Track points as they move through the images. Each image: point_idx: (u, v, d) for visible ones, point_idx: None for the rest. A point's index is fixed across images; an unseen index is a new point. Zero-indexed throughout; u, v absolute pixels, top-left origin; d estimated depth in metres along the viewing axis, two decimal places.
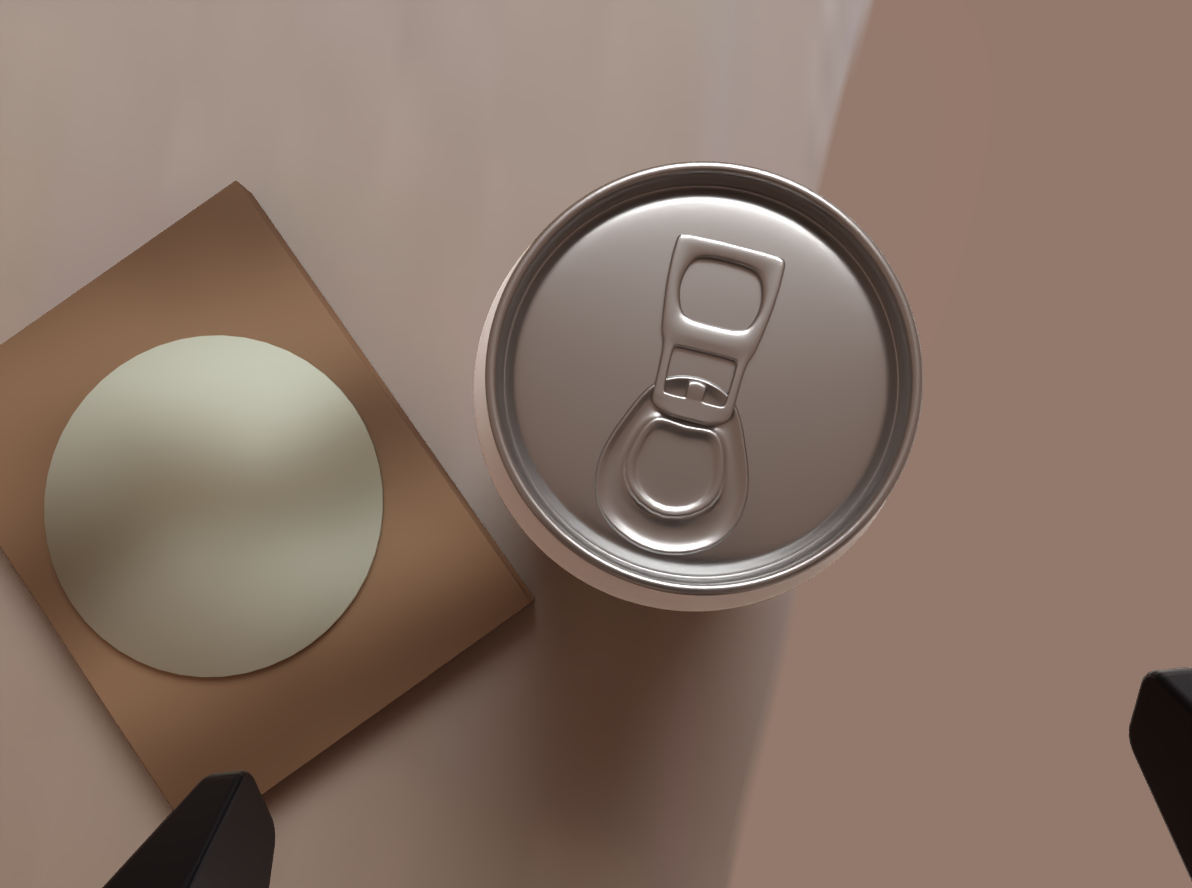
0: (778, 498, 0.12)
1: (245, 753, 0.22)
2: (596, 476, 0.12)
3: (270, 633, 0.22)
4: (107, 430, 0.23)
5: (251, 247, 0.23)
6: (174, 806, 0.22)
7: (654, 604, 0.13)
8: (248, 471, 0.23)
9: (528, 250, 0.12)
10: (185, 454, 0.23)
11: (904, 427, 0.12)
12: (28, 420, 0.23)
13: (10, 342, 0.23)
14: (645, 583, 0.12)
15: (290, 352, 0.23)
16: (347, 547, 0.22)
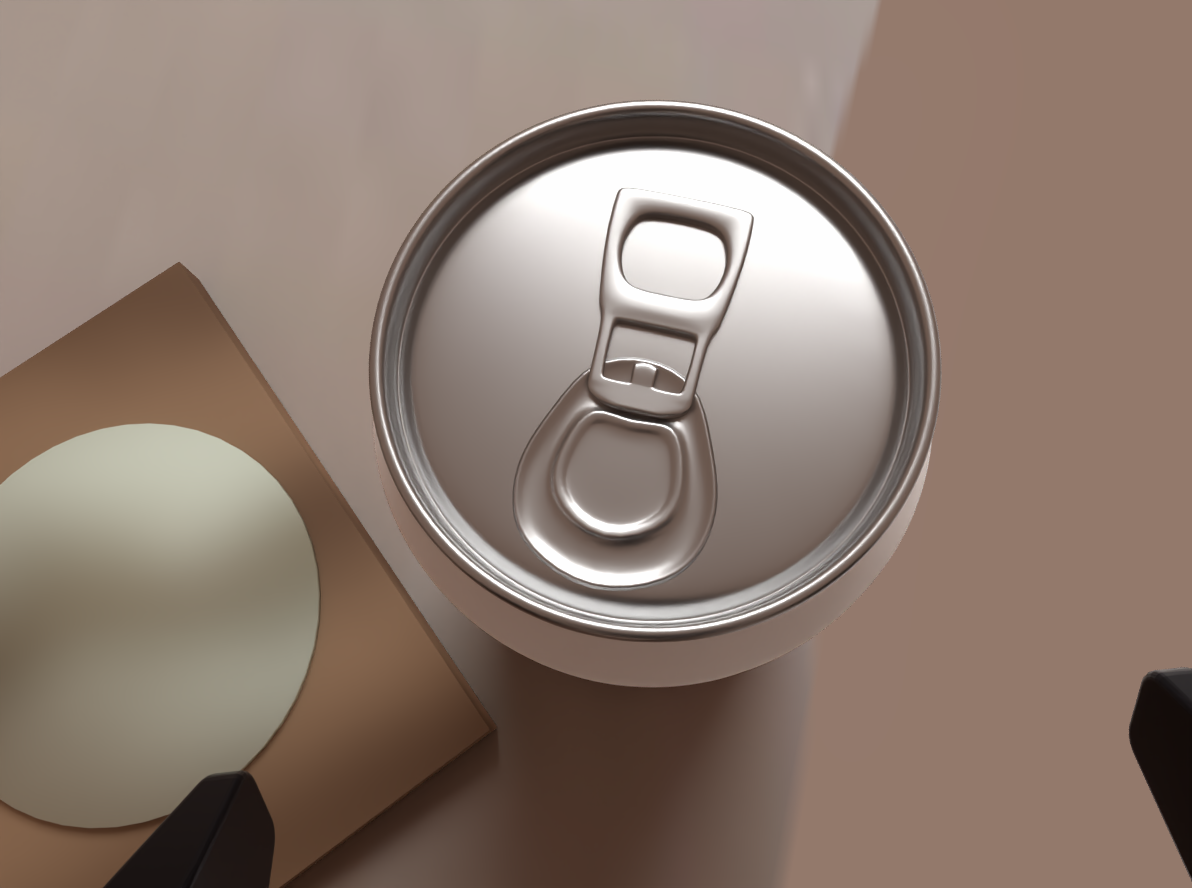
0: (758, 512, 0.09)
1: None
2: (514, 486, 0.09)
3: (176, 771, 0.19)
4: (10, 531, 0.20)
5: (190, 330, 0.21)
6: None
7: (601, 673, 0.10)
8: (165, 576, 0.20)
9: (429, 206, 0.09)
10: (95, 557, 0.20)
11: (920, 412, 0.09)
12: None
13: None
14: (576, 625, 0.08)
15: (224, 441, 0.20)
16: (274, 663, 0.19)
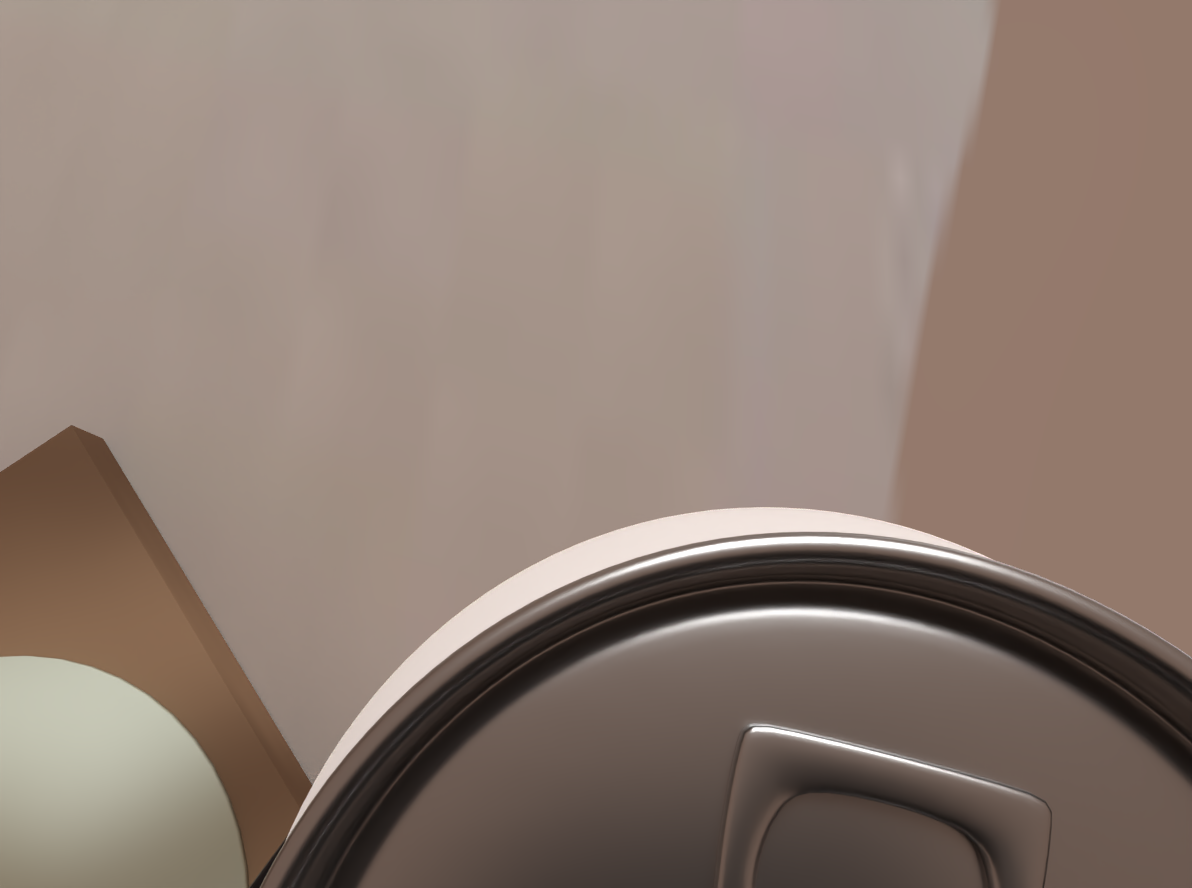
0: None
1: None
2: None
3: None
4: None
5: (83, 521, 0.16)
6: None
7: None
8: (39, 878, 0.14)
9: (323, 791, 0.04)
10: None
11: None
12: None
13: None
14: None
15: (123, 681, 0.15)
16: None
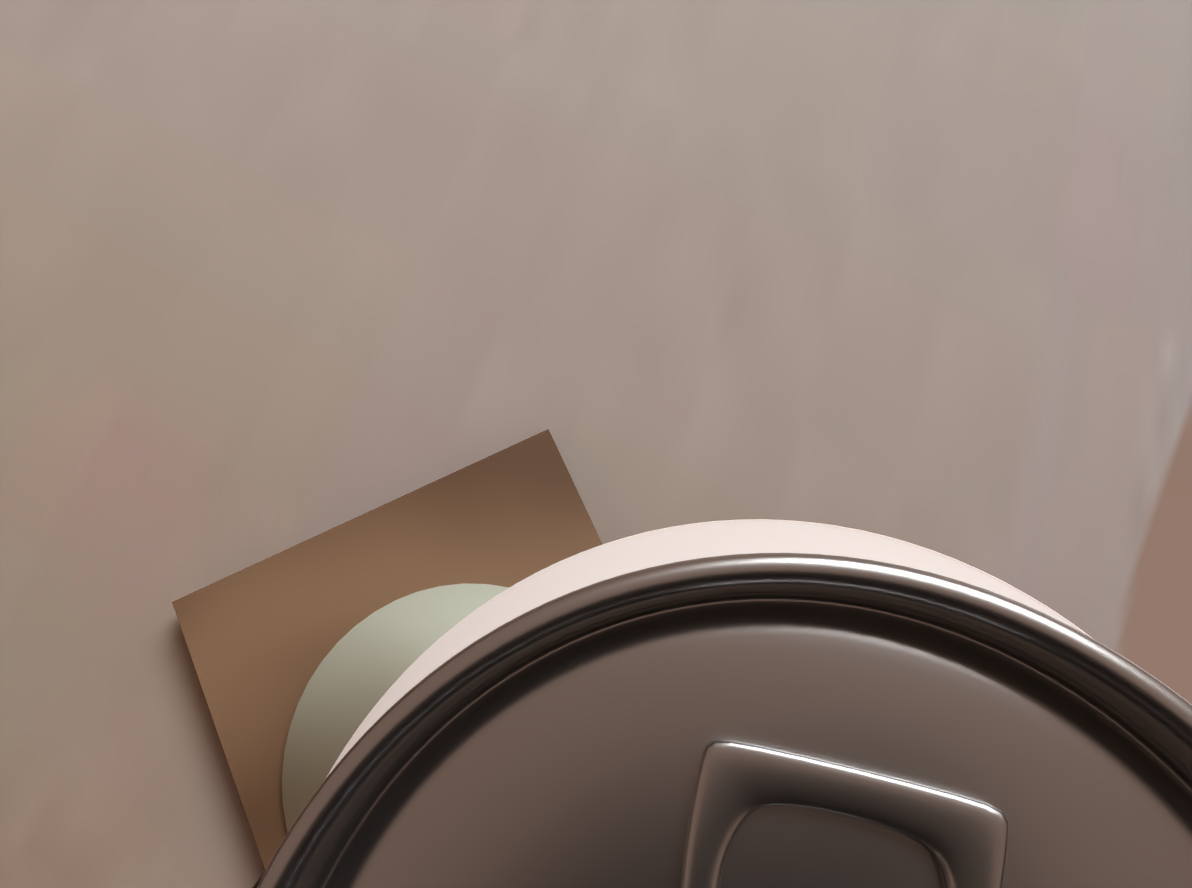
0: None
1: None
2: None
3: None
4: (369, 666, 0.21)
5: (551, 499, 0.22)
6: None
7: None
8: None
9: (307, 810, 0.04)
10: None
11: None
12: (289, 638, 0.22)
13: (287, 552, 0.22)
14: None
15: None
16: None
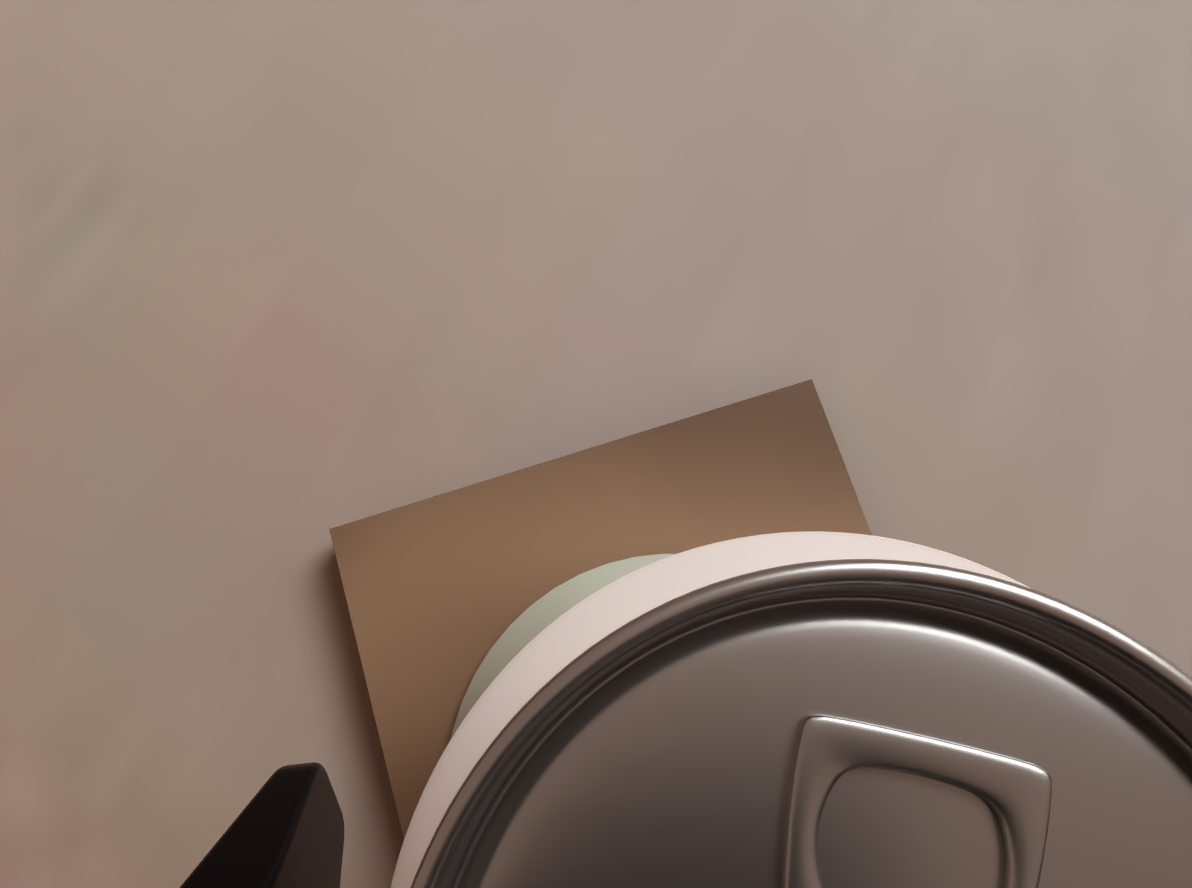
0: None
1: None
2: None
3: None
4: None
5: (809, 466, 0.18)
6: None
7: None
8: None
9: (473, 775, 0.05)
10: None
11: None
12: (469, 592, 0.18)
13: (476, 488, 0.18)
14: None
15: None
16: None
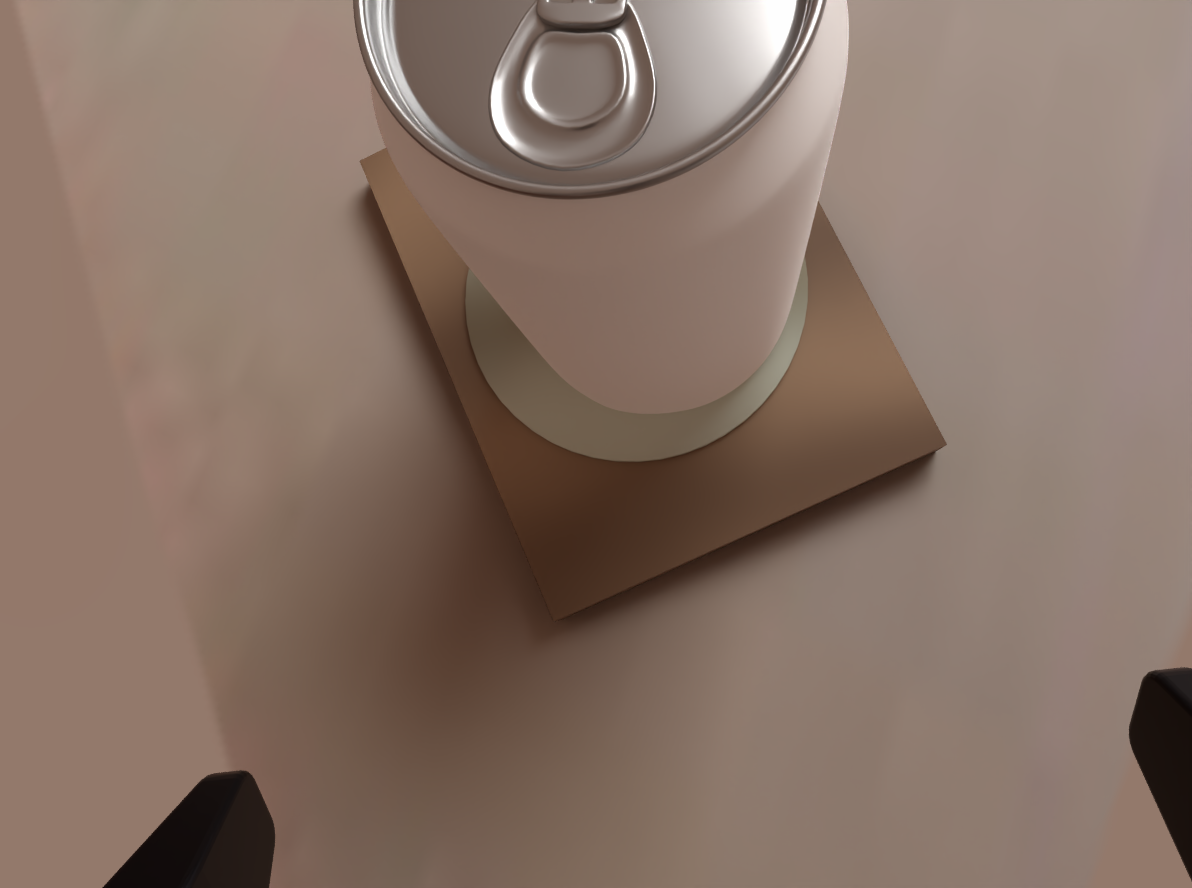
0: (691, 85, 0.11)
1: (620, 542, 0.22)
2: (489, 104, 0.11)
3: (668, 426, 0.22)
4: None
5: None
6: (539, 581, 0.22)
7: (589, 264, 0.12)
8: None
9: None
10: None
11: None
12: None
13: None
14: (552, 191, 0.10)
15: None
16: None
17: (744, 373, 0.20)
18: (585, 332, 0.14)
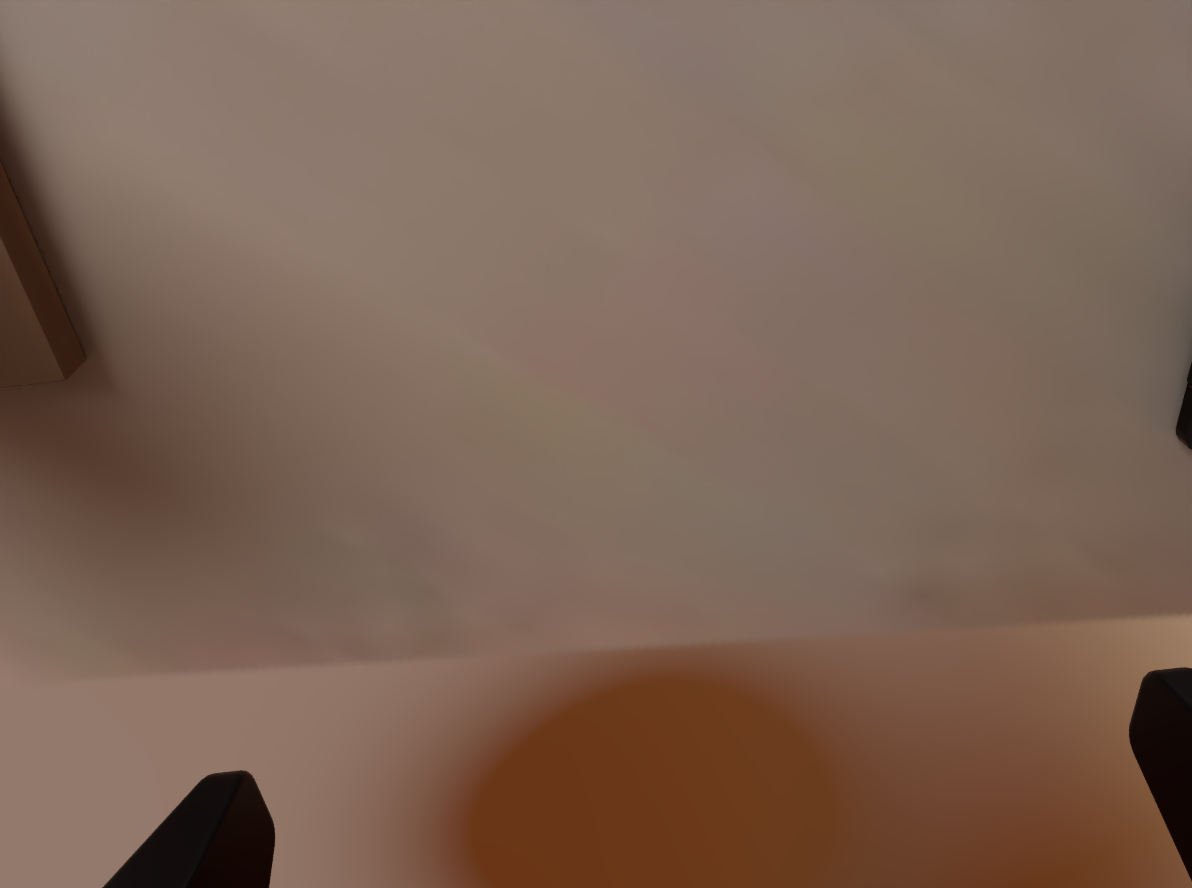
0: None
1: None
2: None
3: None
4: None
5: None
6: (16, 383, 0.19)
7: None
8: None
9: None
10: None
11: None
12: None
13: None
14: None
15: None
16: None
17: None
18: None
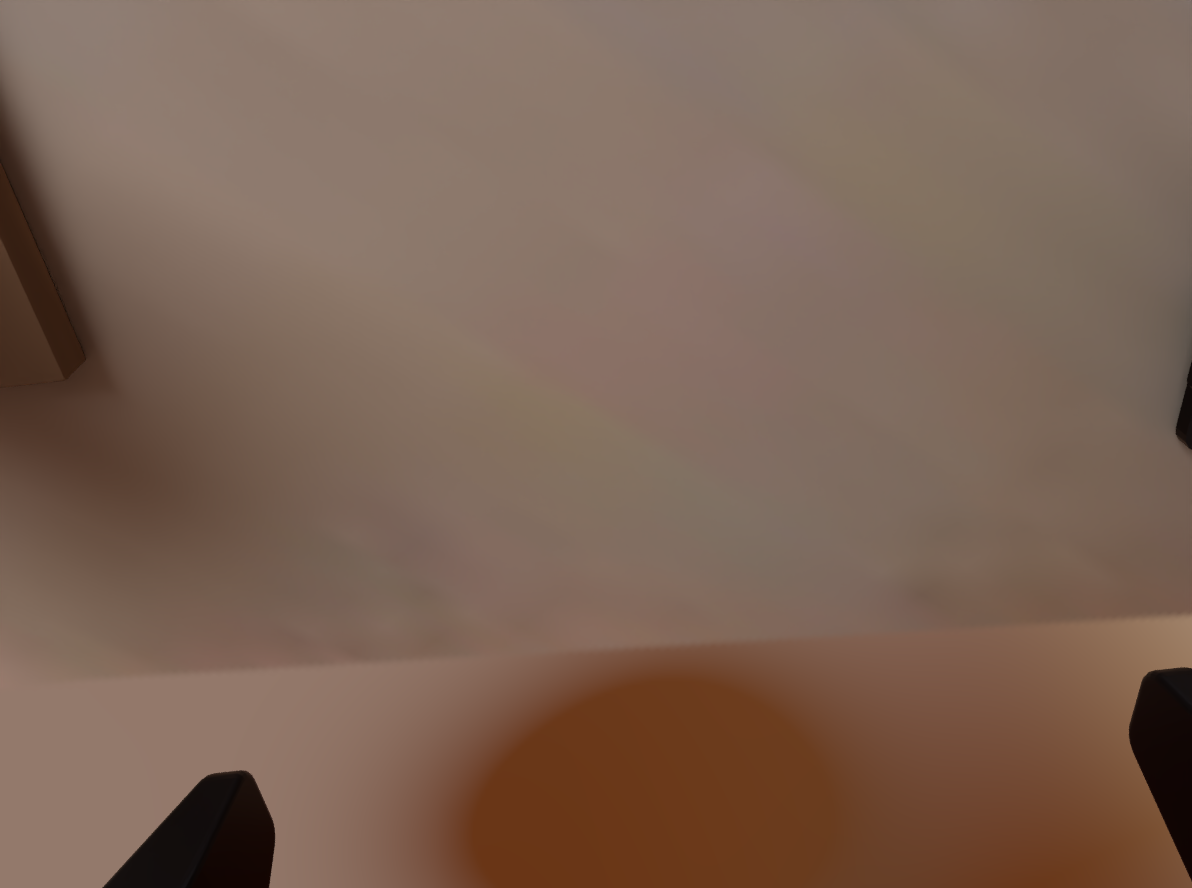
0: None
1: None
2: None
3: None
4: None
5: None
6: (16, 383, 0.19)
7: None
8: None
9: None
10: None
11: None
12: None
13: None
14: None
15: None
16: None
17: None
18: None
